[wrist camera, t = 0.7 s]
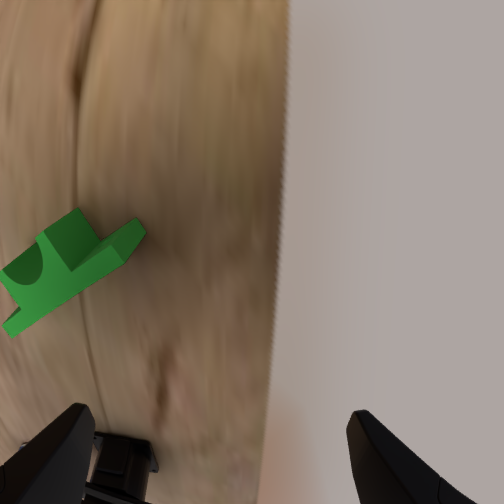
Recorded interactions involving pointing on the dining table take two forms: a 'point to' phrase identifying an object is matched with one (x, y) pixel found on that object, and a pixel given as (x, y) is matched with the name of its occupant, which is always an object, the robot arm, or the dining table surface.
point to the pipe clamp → (63, 266)
